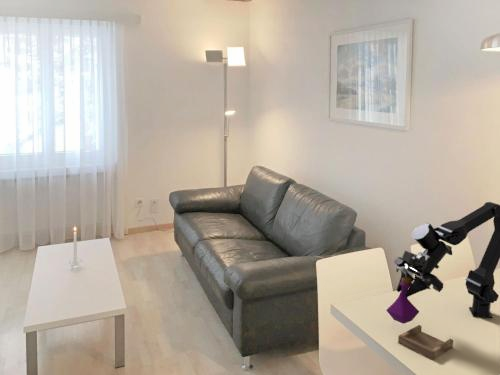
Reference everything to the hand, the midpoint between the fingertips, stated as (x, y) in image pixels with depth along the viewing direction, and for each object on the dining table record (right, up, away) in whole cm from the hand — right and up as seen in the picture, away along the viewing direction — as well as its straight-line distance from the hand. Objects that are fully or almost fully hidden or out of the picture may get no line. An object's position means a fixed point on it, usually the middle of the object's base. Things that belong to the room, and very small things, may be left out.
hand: (401, 293), depth 158 cm
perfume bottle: (+1, -10, +3) cm, 10 cm away
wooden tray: (+6, -15, -5) cm, 17 cm away
